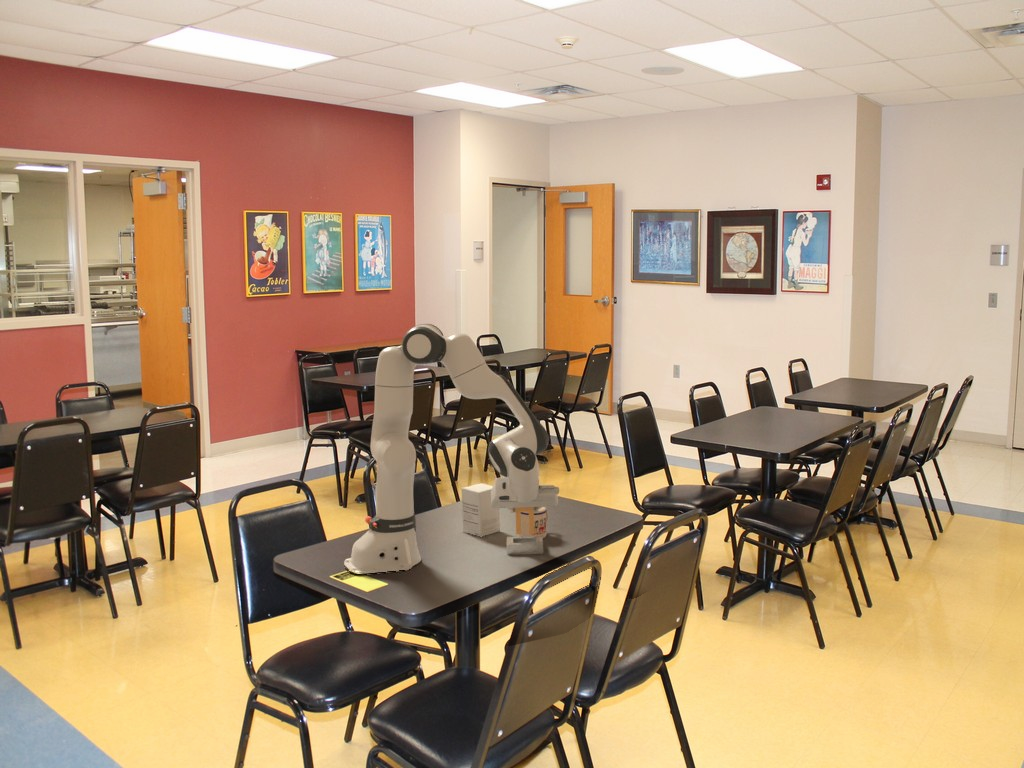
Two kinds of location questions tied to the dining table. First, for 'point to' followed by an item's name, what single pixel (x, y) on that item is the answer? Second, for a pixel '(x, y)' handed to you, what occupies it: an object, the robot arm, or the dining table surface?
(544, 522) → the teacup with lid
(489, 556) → the dining table surface
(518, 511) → the orange notched arch block
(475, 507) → the supplement box
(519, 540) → the rectangular frame block
